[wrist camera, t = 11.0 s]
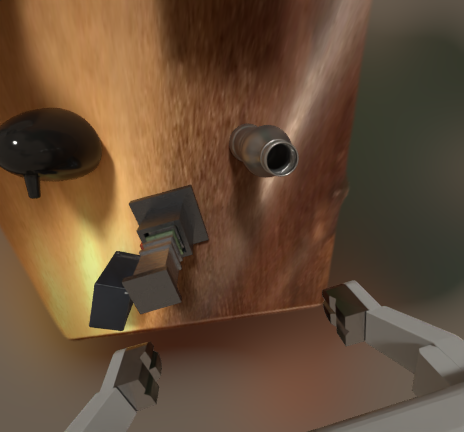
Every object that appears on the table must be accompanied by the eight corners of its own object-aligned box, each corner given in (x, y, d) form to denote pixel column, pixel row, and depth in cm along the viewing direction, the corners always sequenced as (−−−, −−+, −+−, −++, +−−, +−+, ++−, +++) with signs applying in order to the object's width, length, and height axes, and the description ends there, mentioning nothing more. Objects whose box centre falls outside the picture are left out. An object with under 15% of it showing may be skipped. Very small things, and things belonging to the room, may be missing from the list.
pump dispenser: (57, 176, 39) (-20, 207, 25) (31, 111, 35) (-80, 105, 21) (117, 170, 40) (74, 197, 26) (99, 106, 36) (37, 98, 22)
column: (148, 225, 38) (121, 282, 25) (177, 217, 38) (166, 269, 25) (159, 249, 40) (140, 314, 27) (186, 241, 41) (181, 302, 27)
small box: (114, 249, 46) (92, 283, 36) (146, 255, 48) (133, 289, 38) (107, 288, 49) (86, 328, 40) (138, 292, 51) (124, 332, 42)
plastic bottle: (249, 166, 43) (286, 200, 25) (220, 146, 41) (238, 167, 22) (269, 138, 41) (324, 151, 23) (240, 115, 39) (277, 110, 21)
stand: (130, 201, 42) (113, 221, 34) (191, 184, 43) (189, 200, 34) (154, 251, 47) (144, 280, 39) (208, 236, 48) (210, 261, 39)
